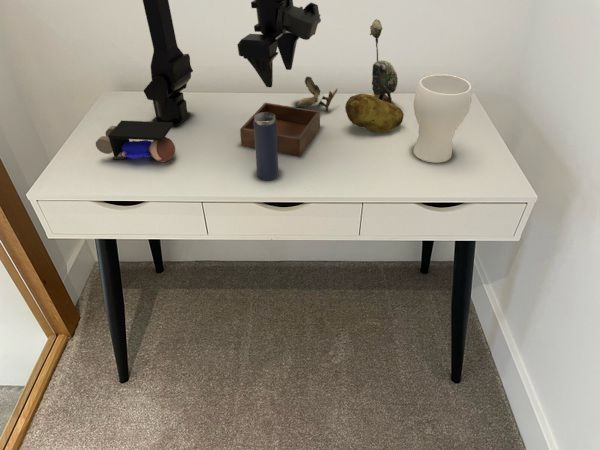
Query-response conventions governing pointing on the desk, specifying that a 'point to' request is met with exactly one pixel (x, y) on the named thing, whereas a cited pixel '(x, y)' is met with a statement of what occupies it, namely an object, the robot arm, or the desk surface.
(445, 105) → the cup
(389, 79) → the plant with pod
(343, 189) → the desk surface
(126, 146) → the figurine character
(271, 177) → the can
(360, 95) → the potato
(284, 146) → the desk bin
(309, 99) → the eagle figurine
